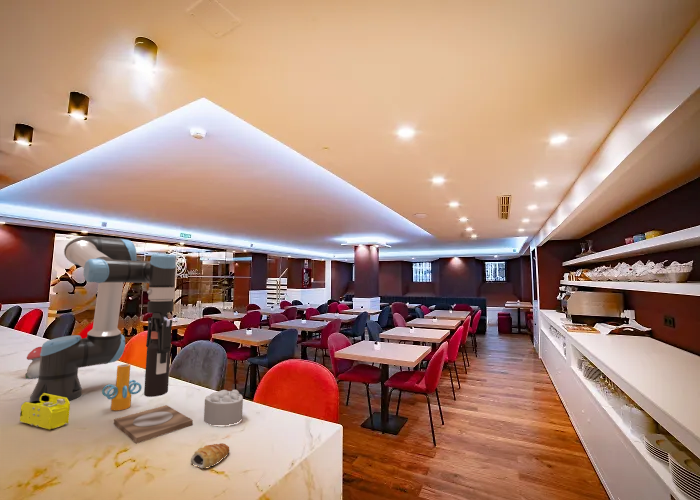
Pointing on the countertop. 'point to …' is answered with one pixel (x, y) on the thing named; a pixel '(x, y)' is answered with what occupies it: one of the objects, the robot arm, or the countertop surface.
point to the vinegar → (153, 381)
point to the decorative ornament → (34, 363)
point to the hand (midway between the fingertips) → (156, 371)
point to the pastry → (209, 455)
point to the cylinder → (121, 389)
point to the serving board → (152, 423)
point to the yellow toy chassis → (46, 411)
